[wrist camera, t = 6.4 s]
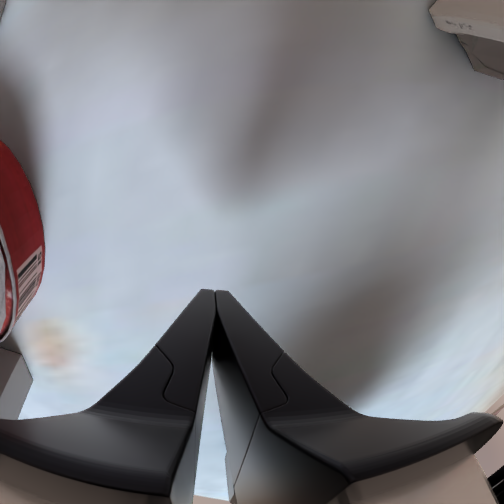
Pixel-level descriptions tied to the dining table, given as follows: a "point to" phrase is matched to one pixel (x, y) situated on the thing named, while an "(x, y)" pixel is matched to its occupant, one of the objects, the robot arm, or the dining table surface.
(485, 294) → the dining table surface
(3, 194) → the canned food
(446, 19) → the electrical switch
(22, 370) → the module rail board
